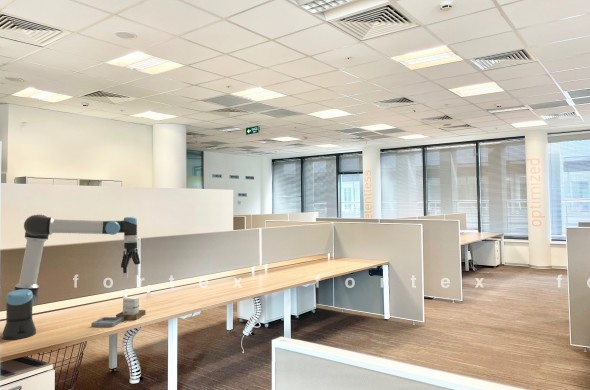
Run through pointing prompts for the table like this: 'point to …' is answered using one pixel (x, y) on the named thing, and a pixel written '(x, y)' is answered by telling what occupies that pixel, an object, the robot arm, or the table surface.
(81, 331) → the table surface
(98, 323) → the tray
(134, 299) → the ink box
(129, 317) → the brown wooden box
